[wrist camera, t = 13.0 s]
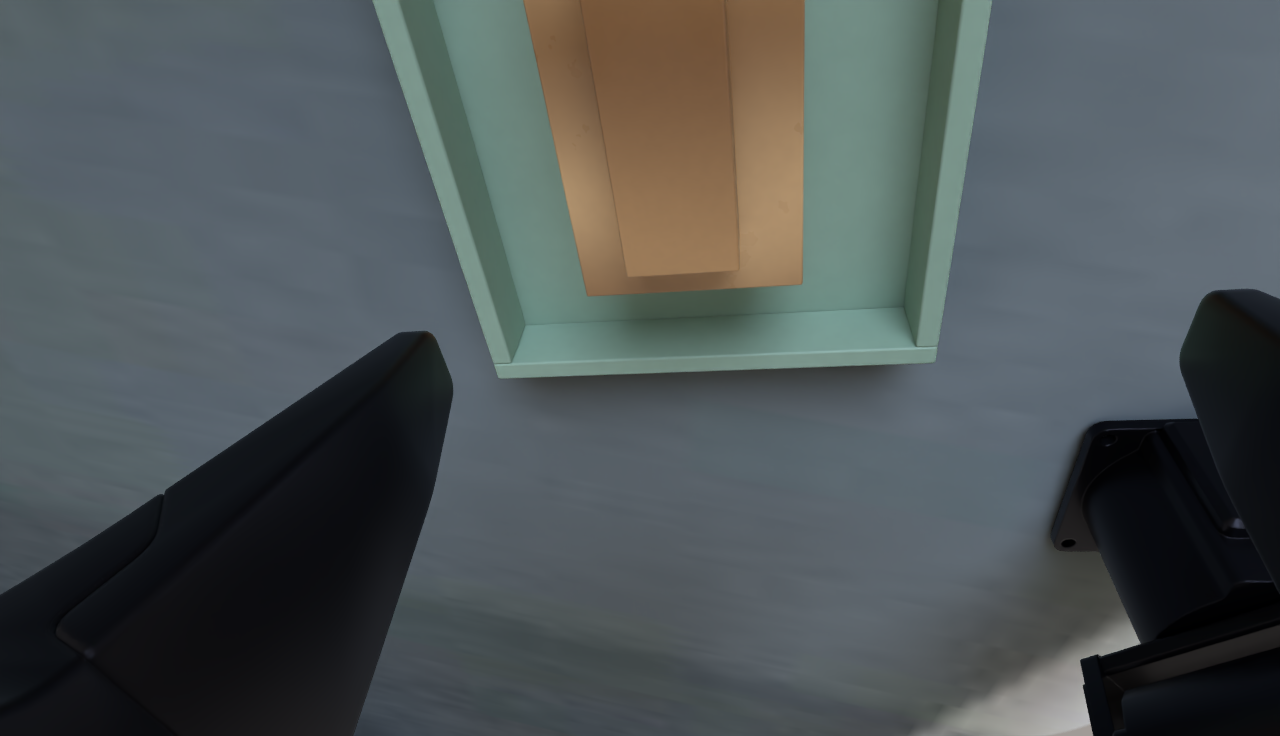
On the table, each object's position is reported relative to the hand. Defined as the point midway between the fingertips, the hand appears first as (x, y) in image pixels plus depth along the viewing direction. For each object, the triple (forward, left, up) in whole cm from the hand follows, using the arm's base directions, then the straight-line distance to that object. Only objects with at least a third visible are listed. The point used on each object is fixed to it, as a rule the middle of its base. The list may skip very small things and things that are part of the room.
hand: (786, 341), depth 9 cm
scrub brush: (+1, +2, -11) cm, 11 cm away
